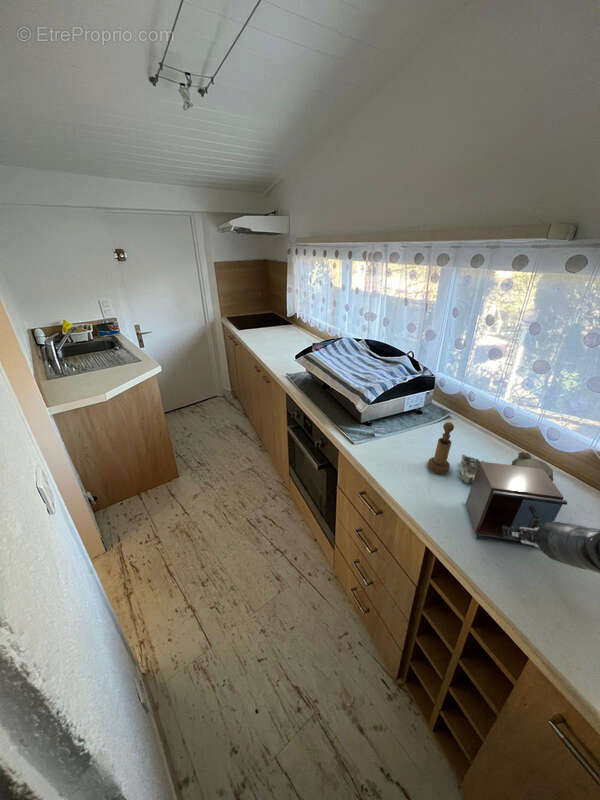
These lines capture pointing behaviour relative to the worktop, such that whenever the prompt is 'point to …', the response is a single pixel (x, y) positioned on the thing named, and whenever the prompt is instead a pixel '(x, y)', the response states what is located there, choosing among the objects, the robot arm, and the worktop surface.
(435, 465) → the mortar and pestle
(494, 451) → the worktop surface
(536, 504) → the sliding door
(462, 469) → the grey lumpy piece
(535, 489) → the cupboard
